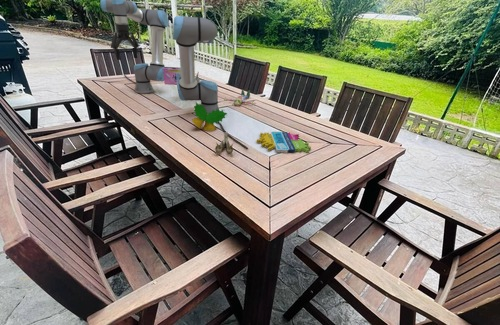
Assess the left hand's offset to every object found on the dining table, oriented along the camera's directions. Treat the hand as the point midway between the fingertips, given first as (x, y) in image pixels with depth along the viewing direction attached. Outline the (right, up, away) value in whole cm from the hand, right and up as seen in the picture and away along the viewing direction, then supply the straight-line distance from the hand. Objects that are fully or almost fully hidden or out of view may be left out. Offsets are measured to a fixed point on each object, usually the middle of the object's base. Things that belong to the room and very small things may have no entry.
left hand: (127, 58), depth 179 cm
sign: (+103, -60, -26) cm, 122 cm away
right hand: (+36, -8, +25) cm, 44 cm away
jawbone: (+71, -65, -40) cm, 104 cm away
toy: (+77, -20, +42) cm, 90 cm away
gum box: (+29, -10, +25) cm, 39 cm away
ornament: (+59, -50, -14) cm, 78 cm away
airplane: (+28, +4, +78) cm, 84 cm away
